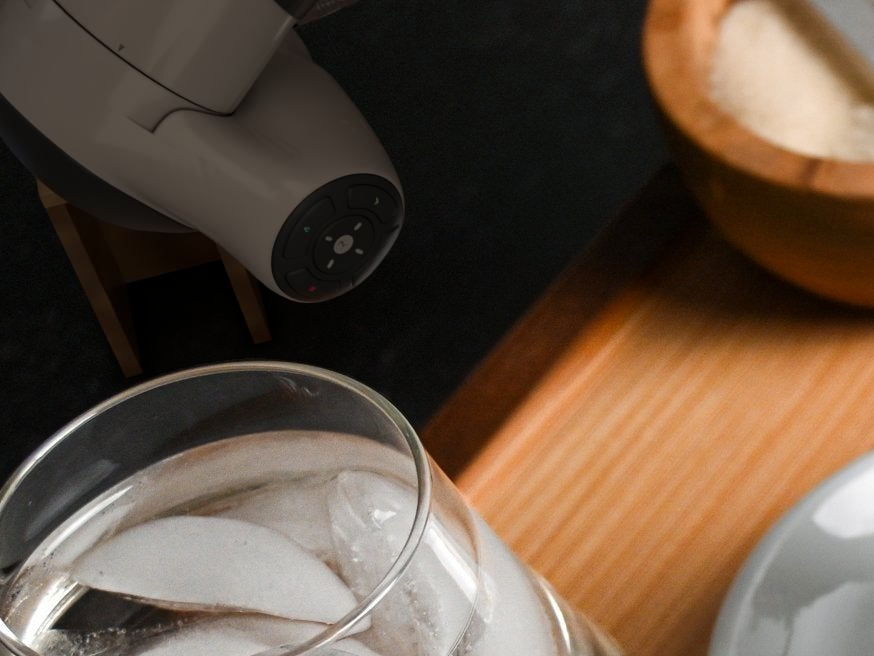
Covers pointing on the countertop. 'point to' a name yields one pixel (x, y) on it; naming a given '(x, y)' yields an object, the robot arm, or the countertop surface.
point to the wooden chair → (139, 270)
